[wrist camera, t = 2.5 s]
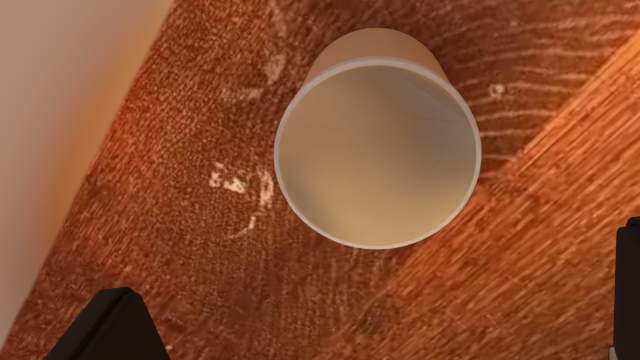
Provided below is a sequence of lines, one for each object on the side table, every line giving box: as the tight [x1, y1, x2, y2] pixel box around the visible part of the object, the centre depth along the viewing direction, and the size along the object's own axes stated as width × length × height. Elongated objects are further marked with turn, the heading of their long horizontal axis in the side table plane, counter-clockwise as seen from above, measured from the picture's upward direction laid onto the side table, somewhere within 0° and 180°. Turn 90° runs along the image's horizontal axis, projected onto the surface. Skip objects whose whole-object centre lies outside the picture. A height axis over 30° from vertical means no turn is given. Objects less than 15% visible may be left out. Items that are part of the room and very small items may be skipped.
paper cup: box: [274, 28, 482, 249], centre depth 18 cm, size 7×7×7 cm
